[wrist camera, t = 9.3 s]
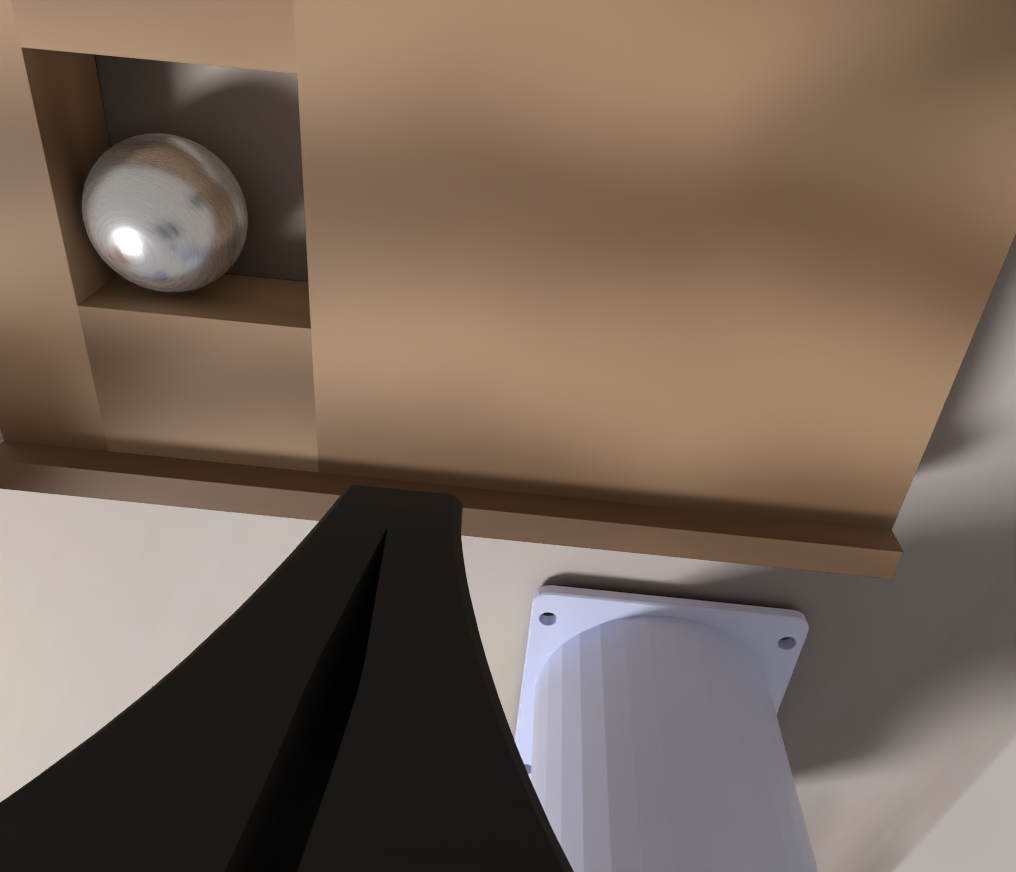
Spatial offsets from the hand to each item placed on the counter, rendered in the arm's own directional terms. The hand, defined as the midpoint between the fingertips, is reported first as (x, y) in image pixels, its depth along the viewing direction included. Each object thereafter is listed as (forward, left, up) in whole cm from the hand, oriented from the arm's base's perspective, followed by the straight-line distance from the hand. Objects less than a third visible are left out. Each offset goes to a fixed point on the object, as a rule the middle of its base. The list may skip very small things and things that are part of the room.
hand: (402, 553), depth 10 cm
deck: (+2, 0, -10) cm, 10 cm away
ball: (+1, +6, -9) cm, 11 cm away
